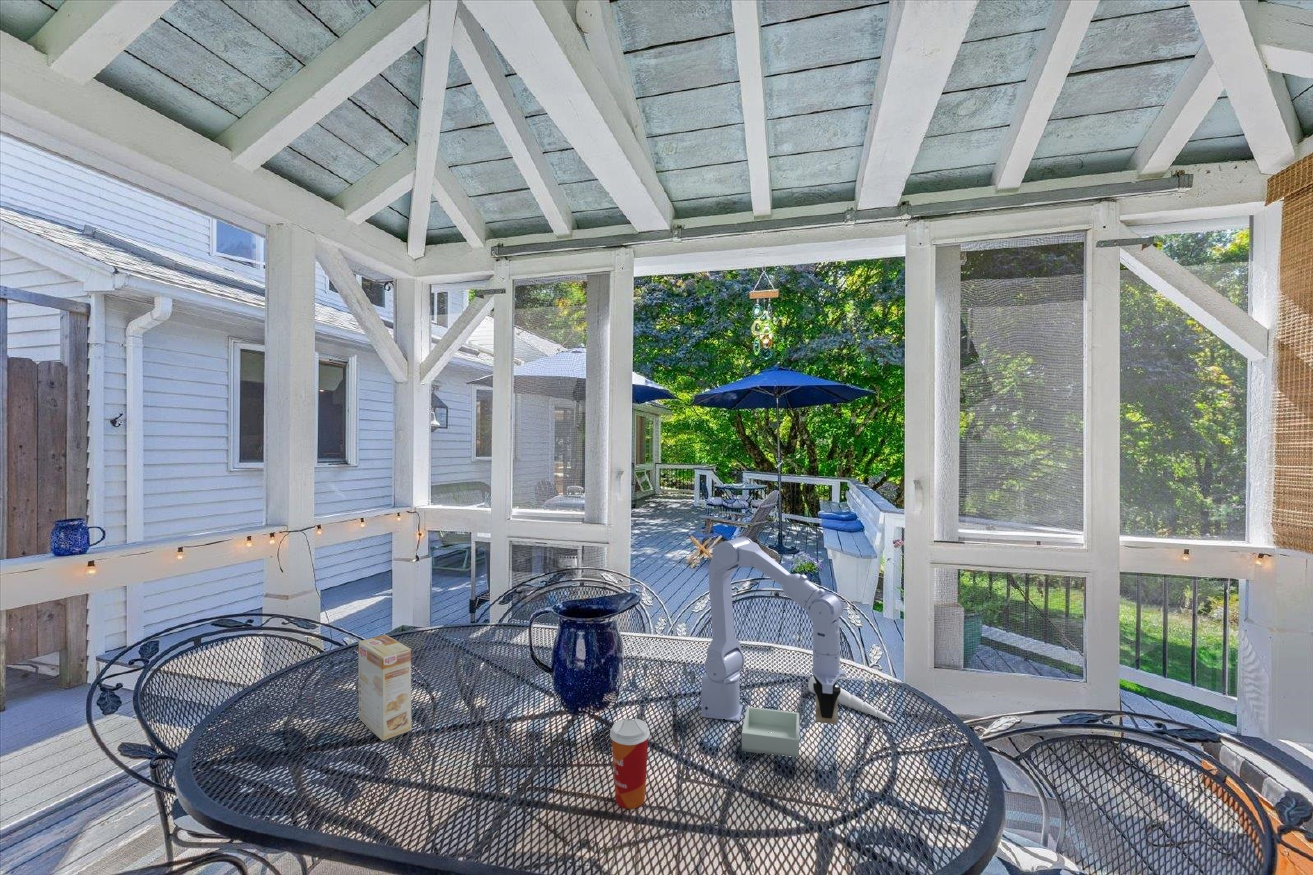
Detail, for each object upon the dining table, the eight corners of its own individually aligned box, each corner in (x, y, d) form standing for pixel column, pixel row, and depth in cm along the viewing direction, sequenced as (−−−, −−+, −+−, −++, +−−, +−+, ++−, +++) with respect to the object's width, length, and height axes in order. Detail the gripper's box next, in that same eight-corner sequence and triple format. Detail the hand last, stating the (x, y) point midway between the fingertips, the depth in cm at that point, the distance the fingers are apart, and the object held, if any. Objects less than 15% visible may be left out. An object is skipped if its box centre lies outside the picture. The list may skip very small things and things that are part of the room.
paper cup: (610, 788, 111) (609, 717, 111) (648, 785, 112) (648, 715, 112) (610, 814, 104) (609, 739, 103) (651, 812, 104) (651, 736, 104)
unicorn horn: (888, 730, 133) (888, 710, 133) (806, 693, 152) (806, 676, 152) (899, 724, 136) (899, 704, 136) (817, 689, 155) (817, 671, 155)
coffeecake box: (412, 730, 134) (412, 648, 134) (381, 742, 129) (380, 657, 128) (387, 709, 144) (386, 633, 144) (357, 720, 139) (356, 641, 139)
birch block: (816, 722, 123) (815, 694, 123) (815, 712, 127) (815, 685, 127) (837, 724, 122) (837, 697, 122) (836, 714, 126) (836, 687, 126)
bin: (741, 750, 124) (741, 732, 124) (747, 723, 136) (747, 706, 136) (798, 758, 121) (798, 740, 121) (799, 729, 133) (799, 712, 133)
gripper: (847, 665, 116) (847, 730, 116) (843, 640, 130) (843, 698, 130) (812, 662, 118) (812, 726, 118) (811, 637, 132) (811, 695, 132)
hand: (826, 711), depth 124 cm, fingers closed on birch block, 4 cm apart
